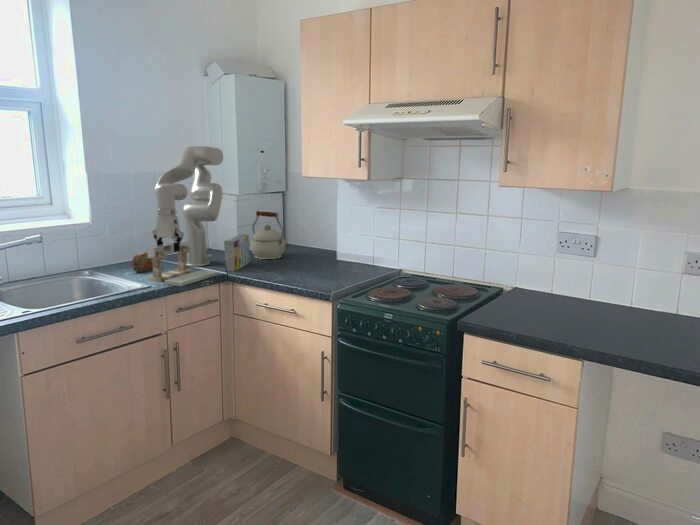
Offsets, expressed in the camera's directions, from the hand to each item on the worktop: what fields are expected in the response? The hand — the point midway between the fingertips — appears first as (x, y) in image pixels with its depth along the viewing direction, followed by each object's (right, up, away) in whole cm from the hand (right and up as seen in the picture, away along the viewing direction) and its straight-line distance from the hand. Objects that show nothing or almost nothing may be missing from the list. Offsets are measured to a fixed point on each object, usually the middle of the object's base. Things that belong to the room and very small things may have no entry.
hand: (168, 250), depth 246 cm
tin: (-17, -9, +16) cm, 25 cm away
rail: (0, -1, +1) cm, 1 cm away
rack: (0, -12, +3) cm, 12 cm away
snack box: (+26, -8, +24) cm, 37 cm away
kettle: (+39, -3, +49) cm, 63 cm away
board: (+11, -13, -2) cm, 17 cm away
